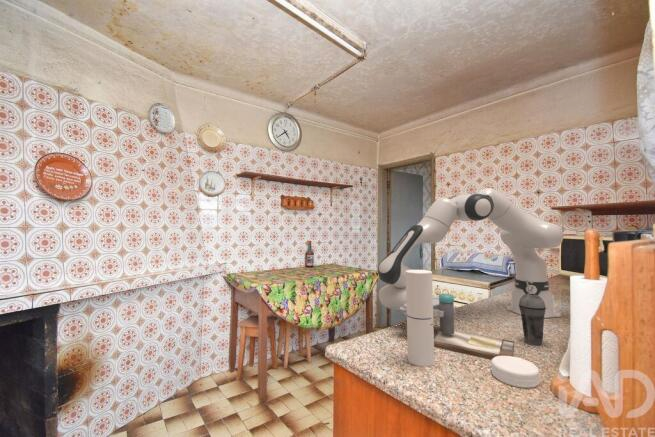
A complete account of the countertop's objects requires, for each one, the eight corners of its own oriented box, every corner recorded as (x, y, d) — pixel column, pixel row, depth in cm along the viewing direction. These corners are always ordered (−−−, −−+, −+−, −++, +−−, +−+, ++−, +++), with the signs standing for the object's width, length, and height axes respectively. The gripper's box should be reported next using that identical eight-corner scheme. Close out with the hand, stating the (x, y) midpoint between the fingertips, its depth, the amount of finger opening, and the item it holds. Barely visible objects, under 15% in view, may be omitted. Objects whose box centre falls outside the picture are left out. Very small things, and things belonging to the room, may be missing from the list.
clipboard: (441, 331, 102) (440, 325, 102) (514, 345, 90) (513, 338, 90) (429, 345, 90) (428, 338, 90) (511, 363, 77) (511, 355, 78)
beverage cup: (552, 348, 87) (550, 282, 88) (526, 346, 89) (523, 281, 89) (540, 338, 94) (537, 278, 95) (515, 337, 96) (513, 277, 96)
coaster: (524, 393, 64) (524, 377, 64) (483, 373, 73) (482, 360, 73) (548, 382, 69) (547, 367, 69) (506, 364, 77) (505, 351, 78)
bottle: (441, 328, 98) (440, 293, 98) (456, 331, 95) (455, 294, 95) (438, 332, 94) (437, 295, 94) (453, 335, 91) (451, 297, 92)
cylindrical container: (402, 357, 82) (400, 270, 83) (422, 353, 85) (419, 269, 86) (419, 368, 76) (417, 274, 76) (440, 363, 78) (437, 272, 79)
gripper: (395, 299, 99) (429, 308, 88) (431, 291, 111) (465, 298, 100) (395, 317, 99) (429, 329, 88) (431, 307, 111) (466, 316, 99)
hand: (449, 312), depth 94 cm, fingers closed on bottle, 4 cm apart
